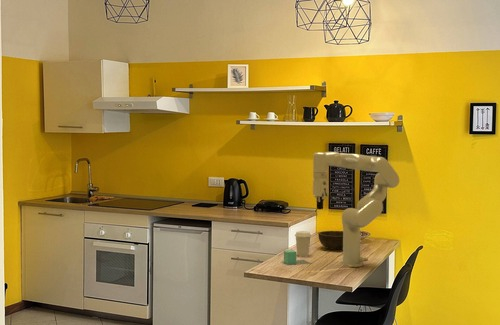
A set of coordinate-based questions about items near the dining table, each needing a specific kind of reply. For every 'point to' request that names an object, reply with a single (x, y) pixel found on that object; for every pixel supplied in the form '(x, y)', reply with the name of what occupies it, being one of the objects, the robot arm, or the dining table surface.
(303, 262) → the stand board
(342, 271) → the dining table surface
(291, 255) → the cap
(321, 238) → the bowl
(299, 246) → the coffee cup
